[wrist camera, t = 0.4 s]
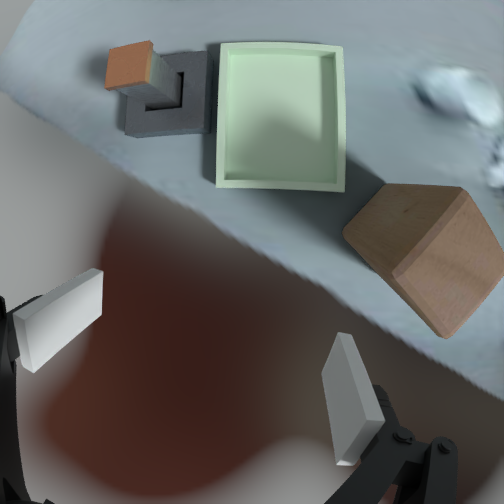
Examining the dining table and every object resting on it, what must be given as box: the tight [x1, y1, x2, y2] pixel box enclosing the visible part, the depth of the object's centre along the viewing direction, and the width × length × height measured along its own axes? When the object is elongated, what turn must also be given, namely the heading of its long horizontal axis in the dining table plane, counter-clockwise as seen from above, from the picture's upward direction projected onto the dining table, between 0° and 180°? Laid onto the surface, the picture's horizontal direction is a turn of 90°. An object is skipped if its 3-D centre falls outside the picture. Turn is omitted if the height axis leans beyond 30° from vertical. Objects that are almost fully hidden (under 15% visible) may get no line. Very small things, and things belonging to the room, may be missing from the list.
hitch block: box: [125, 51, 214, 138], centre depth 36 cm, size 11×11×4 cm
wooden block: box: [342, 183, 504, 339], centre depth 30 cm, size 10×10×20 cm
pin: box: [104, 40, 184, 110], centre depth 31 cm, size 5×5×15 cm
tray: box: [216, 42, 346, 192], centre depth 36 cm, size 20×16×3 cm
